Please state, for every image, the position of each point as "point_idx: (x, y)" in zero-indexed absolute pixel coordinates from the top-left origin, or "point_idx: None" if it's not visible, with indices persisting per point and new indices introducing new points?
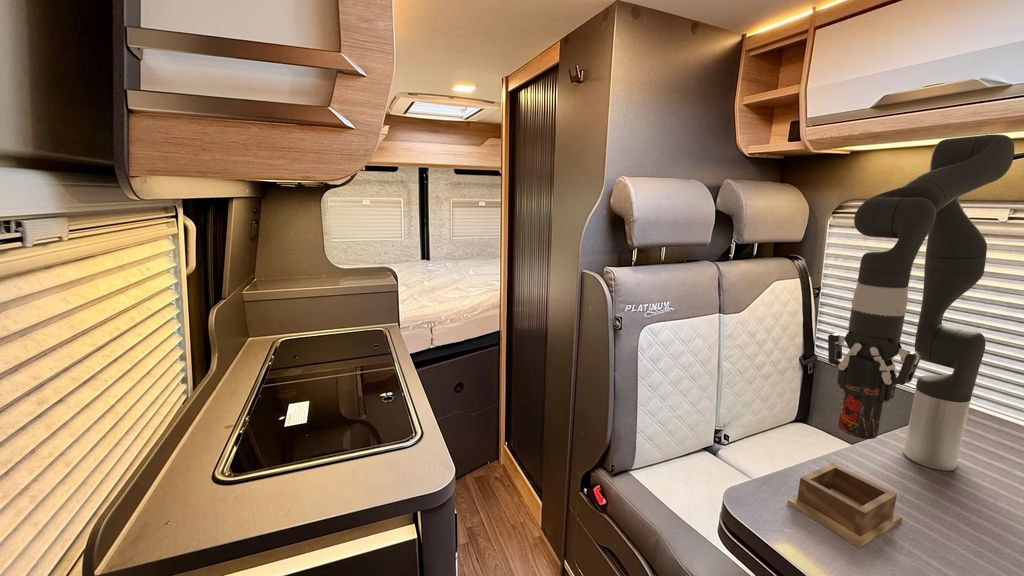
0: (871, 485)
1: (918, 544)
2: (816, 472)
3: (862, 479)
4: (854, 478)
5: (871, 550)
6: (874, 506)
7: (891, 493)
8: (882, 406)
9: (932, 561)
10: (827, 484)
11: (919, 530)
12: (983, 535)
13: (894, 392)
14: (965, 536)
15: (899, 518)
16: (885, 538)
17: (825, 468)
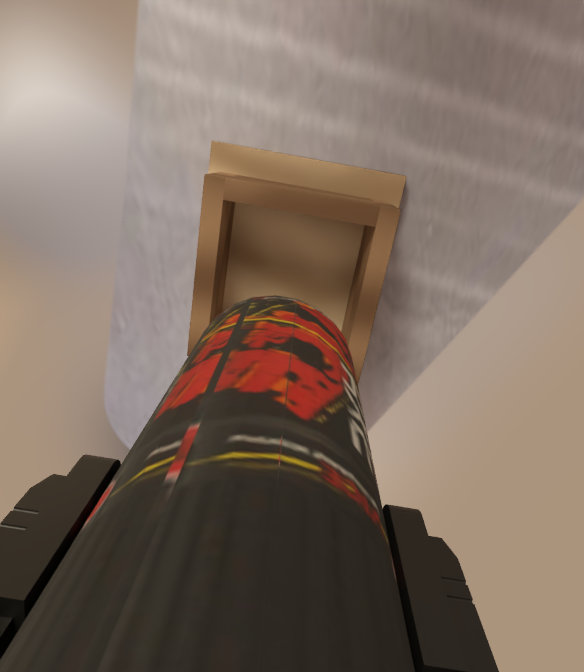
0: (334, 219)
1: (447, 249)
2: (200, 287)
3: (305, 204)
4: (285, 210)
5: (375, 359)
6: (368, 333)
7: (387, 217)
8: (370, 451)
9: (476, 290)
10: (228, 228)
11: (443, 180)
12: (579, 42)
13: (471, 604)
14: (538, 98)
15: (402, 192)
16: (388, 290)
17: (206, 237)
